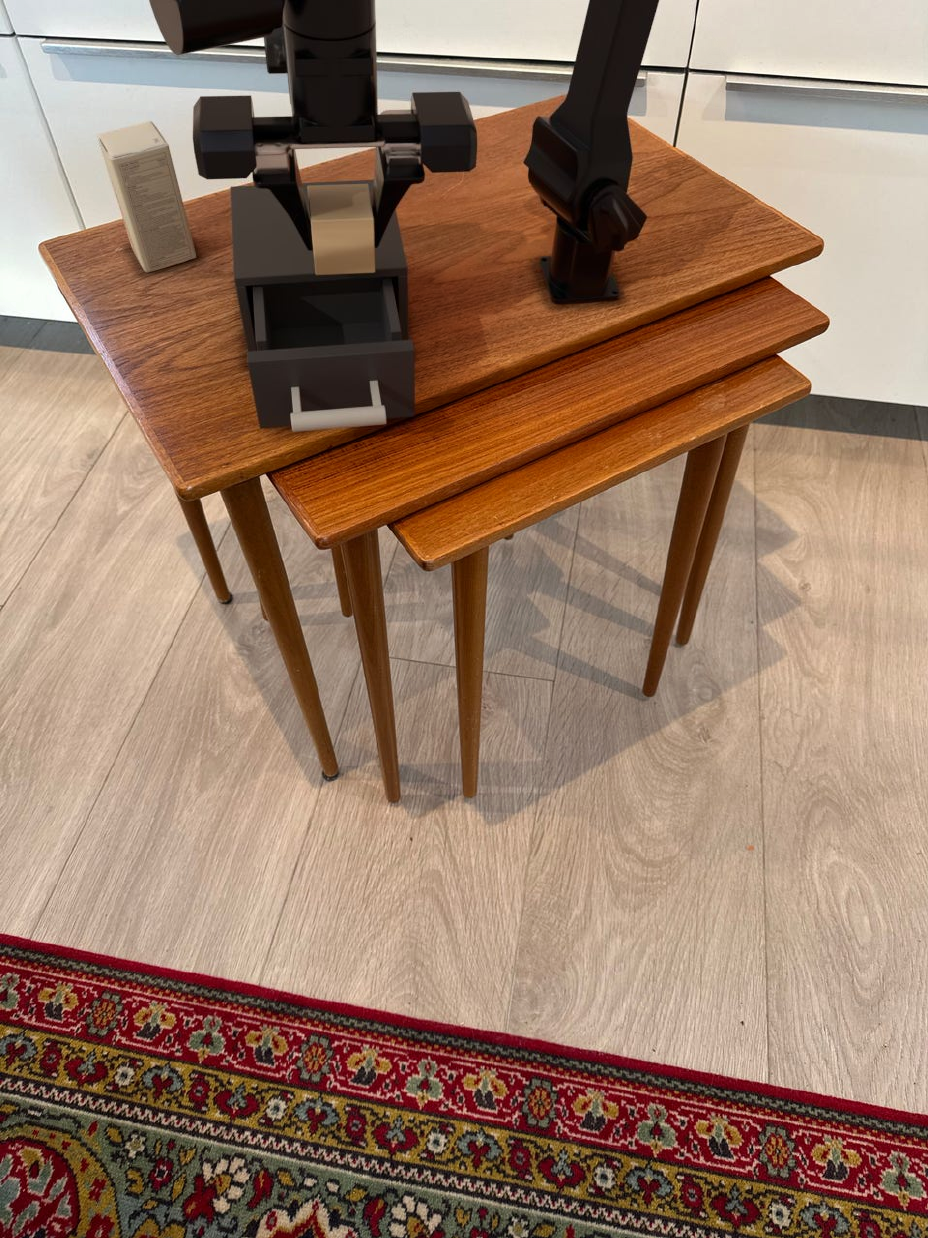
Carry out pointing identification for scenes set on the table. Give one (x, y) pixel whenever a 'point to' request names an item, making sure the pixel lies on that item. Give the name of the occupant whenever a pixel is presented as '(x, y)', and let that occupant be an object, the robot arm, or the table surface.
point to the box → (148, 195)
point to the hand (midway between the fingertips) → (342, 245)
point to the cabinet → (297, 252)
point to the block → (342, 229)
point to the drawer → (330, 355)
